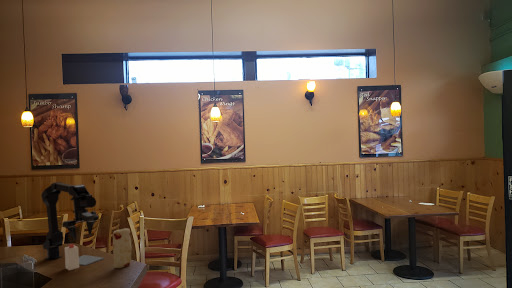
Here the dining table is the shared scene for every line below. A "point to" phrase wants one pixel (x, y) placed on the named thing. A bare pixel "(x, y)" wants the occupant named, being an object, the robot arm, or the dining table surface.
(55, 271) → the dining table surface
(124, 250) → the food model
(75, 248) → the big red button box
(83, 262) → the placemat
